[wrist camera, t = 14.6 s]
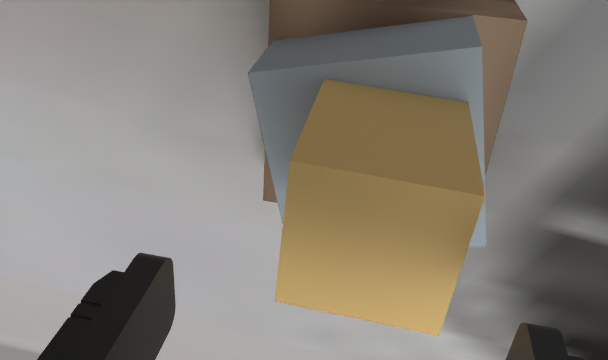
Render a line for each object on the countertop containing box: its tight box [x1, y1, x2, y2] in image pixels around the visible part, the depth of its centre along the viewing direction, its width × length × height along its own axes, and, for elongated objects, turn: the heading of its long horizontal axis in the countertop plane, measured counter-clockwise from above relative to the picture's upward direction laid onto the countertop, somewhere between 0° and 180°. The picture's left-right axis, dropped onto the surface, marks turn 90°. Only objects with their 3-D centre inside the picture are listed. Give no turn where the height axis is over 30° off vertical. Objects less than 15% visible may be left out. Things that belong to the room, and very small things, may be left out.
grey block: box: [248, 16, 486, 247], centre depth 23 cm, size 8×8×4 cm
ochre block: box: [275, 79, 485, 336], centre depth 18 cm, size 5×5×6 cm
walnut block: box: [263, 0, 527, 203], centre depth 26 cm, size 10×10×4 cm
